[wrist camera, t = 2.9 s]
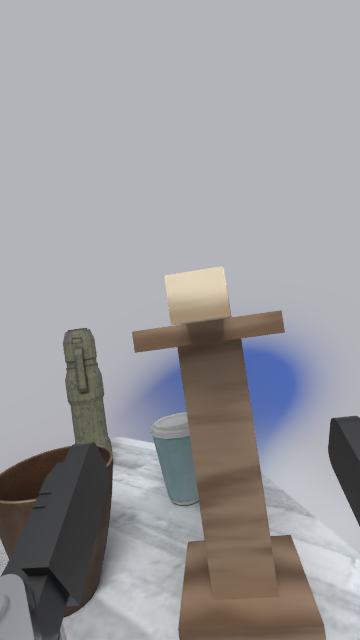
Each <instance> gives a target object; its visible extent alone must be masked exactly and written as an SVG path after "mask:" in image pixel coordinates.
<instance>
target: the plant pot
mask: <svg viewBox="0 0 360 640" xmlns="http://www.w3.org/2000/svg"><path fill="white" fill-rule="evenodd" d="M70 447H71V446H68V447H64V448H59V449H55V450H51V451H48V452H44V453H41V454H38V455H36V456H33V457H31V458H28V459H26V460H24V461H21V462H20V463H18V464H16V465H14V466H12V467H10V468H8V469H7V470H5V471H4V472H2V473H1V474H0V538H1V541H2V543H3V546H4V548H5V551H6V553H7V555H8V558H9V559H10V557H11V555H12V553H13V550H14V548H15V546H16V544H17V541H18V539H19V537H20V535H21V532H22V530H23V528H24V526H25V523H26V521H27V519H28V517H29V514H30V512H31V511H32V510H33V505H34V503H35V501H36V498H37V497H38V496H39V492H40V489H41V487H42V485H43V483H44V480H45V478H46V476H47V475H48V474H49V473H50V471H51V470H52V469H53V468H54V467H55V465H56V464H57V463H58V462H64V461H65V458H66V456H67V453H68V451H69V449H70ZM97 447H98V449H99V451H100V453H101V455H102V457H103V459H104V462H105V464H106V466H107V468H108V472H109V486H108V490H107V495H106V499H105V503H104V507H103V511H102V515H101V519H100V524H99V528H98V532H97V536H96V540H95V544H94V549H93V553H92V557H91V561H90V565H89V569H88V573H87V578H86V582H85V586H84V590H83V594H82V598H81V603H80V606H66V609H65V613H64V617H65V616H67V615H70V614H72V613H74V612H75V611H77V610H78V609H80V608H81V607H82V606H84V605H85V604H86V603H87V602H88V601H89V600H90V598H91V597H92V596H93V594H94V592H95V591H96V588H97V585H98V581H99V577H100V573H101V568H102V563H103V559H104V553H105V548H106V542H107V535H108V528H109V519H110V510H111V498H112V477H113V455H112V452H111V451H110V450H109V449H108V448H106V447H104V446H100V445H97Z"/></svg>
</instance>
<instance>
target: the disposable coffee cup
mask: <svg viewBox="0 0 360 640" xmlns="http://www.w3.org/2000/svg"><path fill="white" fill-rule="evenodd" d="M151 434H152V436H153V439H154V443H155V447H156V450H157V454H158V458H159V462H160V465H161V469H162V473H163V476H164V480H165V484H166V488H167V491H168V495H169V496H170V498H171V500H172V502H173V503H175V504H178V505H190V504H193V503H196V502H198V501H199V496H198V489H197V482H196V474H195V467H194V460H193V453H192V446H191V439H190V432H189V425H188V418H187V412H184V413H178V414H173V415H170V416H166V417H163V418H161V419H159V420H157V421H156V422H155V423H154V424H153V426H152V427H151Z"/></svg>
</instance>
